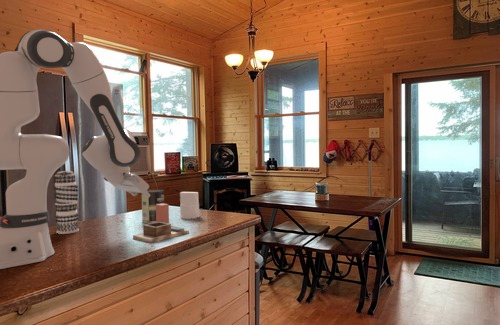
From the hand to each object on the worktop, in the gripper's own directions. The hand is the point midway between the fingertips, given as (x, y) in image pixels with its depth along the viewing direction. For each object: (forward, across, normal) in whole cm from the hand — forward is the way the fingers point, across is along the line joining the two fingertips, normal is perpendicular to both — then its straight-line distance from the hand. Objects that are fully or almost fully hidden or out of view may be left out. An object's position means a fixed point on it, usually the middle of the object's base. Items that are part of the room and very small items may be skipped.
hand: (142, 195), depth 148 cm
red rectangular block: (+18, +2, +3) cm, 18 cm away
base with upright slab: (+34, +13, -12) cm, 38 cm away
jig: (+12, -10, +9) cm, 18 cm away
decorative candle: (-3, +28, +24) cm, 37 cm away
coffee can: (+22, +18, 0) cm, 29 cm away
